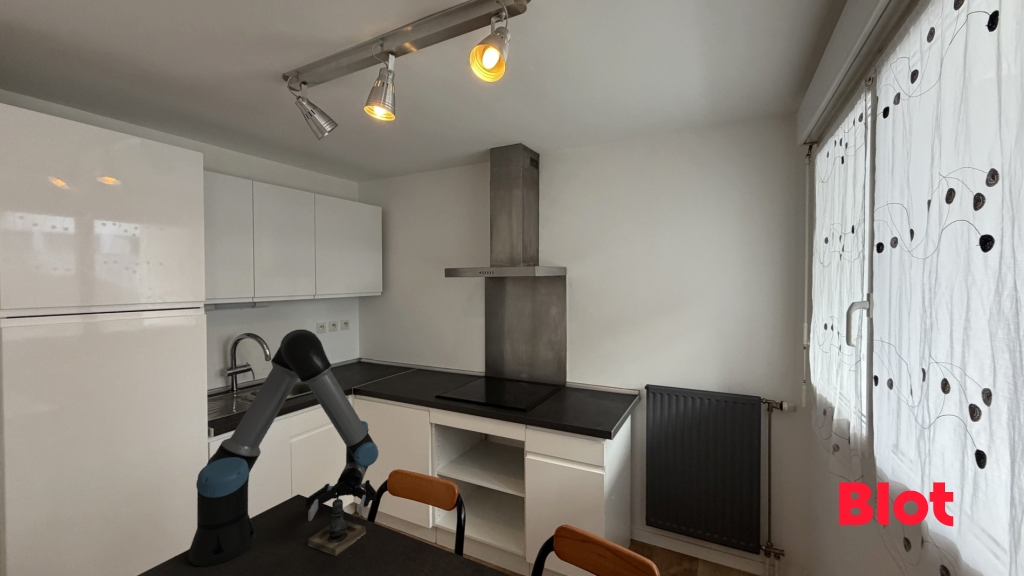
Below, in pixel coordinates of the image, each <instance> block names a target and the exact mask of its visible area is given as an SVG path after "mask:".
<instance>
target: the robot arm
mask: <svg viewBox="0 0 1024 576" xmlns="http://www.w3.org/2000/svg"><path fill="white" fill-rule="evenodd" d="M270 363H271V365H272V368H271V370H270V372H269V373H268V375H267V376H266V378H265V380H264V382H263V383H262V385H261V387H260V389H259V390H258V392H257V393H256V395H255V397H254V398H253V400H252V402H251V403H250V405H249V407H248V409H247V410H246V411H245V413H244V415H243V416H242V418H241V420H240V421H239V424H238V425H237V426H236V428H235V430H234V431H233V433H232V435H231V436H230V437H228V438H226V439H224V440H222V442H221V443H220V445H219V446H218V448H217V449H216V451H215V452H214V453H213V455H212V456H211V457H210V458H209V460H208V462H207V463H206V465H205V466H204V467H203V468H201V470H200V471H199V472H198V475H197V480H196V482H195V483H196V486H195V487H196V490H197V492H196V493H197V497H196V498H197V499H196V500H197V502H196V503H197V505H196V506H197V507H196V508H197V509H196V510H197V511H196V512H197V513H196V516H197V517H196V523H197V524H196V525H197V528H196V530H195V533H194V536H193V538H192V541H191V545H190V547H189V550H190V551H189V550H188V562H189V561H190V562H191V563H192V565H193V564H194V566H196V565H198V566H197V567H209V566H210V567H211V566H214V565H220V564H222V563H225V562H228V561H231V560H232V559H234V558H236V557H239V556H240V555H242V554H243V553H246V551H248V550H249V549H250V548H251V547H252V546H253V544H254V543H255V541H256V529H255V525H253V522H252V520H251V518H250V515H249V480H250V472H251V471H252V469H253V467H254V465H255V464H256V462H257V460H258V458H259V456H260V455H261V454H262V451H261V449H260V445H261V443H262V442H263V440H264V438H265V437H266V434H267V433H268V431H269V429H270V428H271V426H272V425H273V423H274V421H275V420H276V418H277V416H278V414H279V412H280V411H281V409H282V407H283V405H284V403H285V402H286V400H288V399H287V398H288V397H289V395H290V394H291V391H293V388H294V386H295V385H296V383H297V381H298V380H300V382H301V383H302V384H303V383H304V384H306V385H307V386H308V388H310V390H311V392H312V393H313V395H314V396H315V398H316V399H317V402H318V403H319V404H320V406H321V408H322V409H323V411H324V413H325V414H326V416H327V418H328V419H329V420H330V422H331V424H332V425H333V427H334V428H335V430H336V432H337V433H338V435H339V437H340V439H342V441H343V443H344V444H345V447H346V448H345V466H344V468H343V470H342V471H341V473H340V476H339V477H338V480H337V482H336V483H335V484H334V485H330V483H326V484H324V486H322V488H320V489H318V490H317V491H315V492H314V493H312V494H311V495H310V496H308V497H307V498H305V500H306V501H305V502H306V503H305V508H308V511H307V512H308V516H307V519H308V522H311V521H313V518H314V517H315V515H316V513H317V511H318V509H319V506H321V505H323V504H325V503H327V502H329V501H331V500H332V499H333V500H334V499H335V500H336V498H337V497H339V498H340V497H343V496H353V497H354V498H356V497H357V498H358V499H360V504H359V505H358V516H359V517H361V516H362V515H363V512H364V509H365V508H368V507H369V505H370V503H371V501H372V502H376V501H377V491H376V489H375V488H374V487H373V486H372V485H371V483H370V482H371V481H370V480H369V479H366V480H365V482H363V480H364V477H365V476H366V472H367V470H368V468H369V466H370V467H371V466H372V465H373V464H374V463H375V462H376V461H377V459H378V457H379V449H378V446H377V444H376V443H375V442H374V440H373V439H372V437H371V436H370V434H369V430H370V429H369V423H368V422H367V421H364V420H361V419H360V417H359V415H358V414H357V412H356V410H355V408H354V407H353V405H352V404H351V402H350V401H349V399H348V396H347V395H346V393H345V392H344V390H343V389H342V387H341V385H340V384H339V383H338V381H337V380H338V379H336V377H335V376H334V373H333V372H332V371H331V369H332V363H331V362H330V360H329V358H328V357H327V354H326V351H325V349H324V347H323V344H322V341H321V340H320V339H319V337H318V336H317V335H316V333H315V332H312V331H310V330H309V329H301V328H300V329H295V330H292V331H290V332H288V333H286V335H285V336H283V338H282V340H281V342H280V346H279V347H278V349H277V351H276V352H275V354H274V355H273V358H272V359H271V361H270ZM190 562H189V563H190ZM191 563H190V564H191Z"/></svg>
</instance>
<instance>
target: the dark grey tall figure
mask: <svg viewBox="0 0 1024 576" xmlns="http://www.w3.org/2000/svg"><path fill="white" fill-rule="evenodd" d="M331 504H332V505H331V506H332V508H331V510H332V511H331V512H330V515H331V522H330V523H328V524H327V525H326V527H327V530H328V533H329V535H330V536H329V537H328V542H330V543H339V542H341V541H342V540H344V539H345V538H346V537H347V533H346V532H345V531H346V529H347V526H348V522H349V521H348V520H347V519H344V513H345V510H344V502H343V499H341V498H340V496H339V497H337V498H336V499H335V500H334V499H333V502H332V503H331Z"/></svg>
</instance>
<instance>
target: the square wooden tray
mask: <svg viewBox="0 0 1024 576" xmlns="http://www.w3.org/2000/svg"><path fill="white" fill-rule="evenodd" d="M366 529H367V528H366V526H363V525H360V524H357V523H353V522H351V521H348V526H347V529H346V531H345V532H346V533H347V537H346V538H345V539H344V540H342V541H341V542H339V543H330V542H328V537H329V536H330V535H329V533H328V530H327V526H325V527H324V528H322V529H321V530H320V531H318V532H317V533H315V534H314V535H312V536H311V537H309V538H307V546H308V547H311V548H313V549H315V550H319V551H321V552H324V553H326V554H329V555H332V556H334V557H337V556H338V555H340V553H342V552H343V551H345V550H346V549H348V548H349V547H350V546H351V545H352V544H354V543H355V542H356V541H358V540H359V539H360V538H362V537H363V536H365V534H367V533H366V531H367V530H366ZM361 536H362V537H361ZM357 539H358V540H357Z"/></svg>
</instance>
